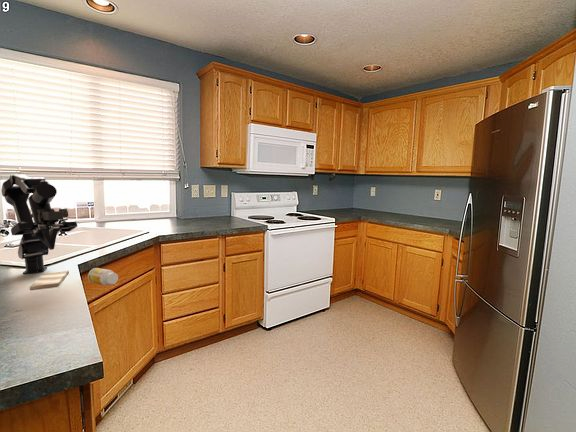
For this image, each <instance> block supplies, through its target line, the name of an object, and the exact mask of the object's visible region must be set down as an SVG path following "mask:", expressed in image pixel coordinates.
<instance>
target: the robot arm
mask: <svg viewBox="0 0 576 432" xmlns="http://www.w3.org/2000/svg"><path fill="white" fill-rule="evenodd" d="M57 192H58V191H57V188H56V187H55V186H54V185H53V184H51V183H50V182H49V181H48V180H46V177H31V176H28V175H27V174H24V173H21V174H19V173H15V174H14V173H13V174H10V175H9V178H8V179H6V180H5V181H4V182H3V183H2V184H1V195H2V197H4V200H5V201H6V203H7V204H9V205H11V206H12V207H13V210H14V212H15V216H16V218H17V223H16V224H15V225H13V226H12V227H11V229H10V233H11V235H12V236H22V237H21V239H20V242H19V244H18V250H17V256H18V258H19V259H21V260H23V259H24V263H25V264H24V265H25V270H24V271H23V272H22V274H23V275H24V274H25V275H26V274H33V273H34V274H35V273H43V272H44V271H46V270H47V268H48V266H45V265H44V256H47V255H49V250H50V251H52V250H54V249H55V246H56V239H57V236H58V233H59V232H60V233H68V232H71V231H73V230H74V229H75V228H78V223H77V221H75V220H74V219H70V220H69V219H68V220H67V219H66V220H64V218H68V217H69V211H68V209H67V208H60V209H58V211H56V210H55V209H54V208H52V206H51V203H52V201H53V199H54V198H55V196H56V195H57ZM30 194H31V195H30ZM30 210H31V211H30ZM59 221H62V222H60V223H59Z"/></svg>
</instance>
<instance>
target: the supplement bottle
mask: <svg viewBox="0 0 576 432" xmlns="http://www.w3.org/2000/svg"><path fill="white" fill-rule="evenodd" d="M87 279H88V281H89V282H90V283H93V284H97V285H101V286H110V285H115V284H116V283H117V282H118V280H119V275H118V274H117V273H116V272H114V271H113V270H112V269H106V268H100V267H93V268H91V270H89V272H88V274H87Z"/></svg>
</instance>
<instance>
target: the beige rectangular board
mask: <svg viewBox="0 0 576 432" xmlns="http://www.w3.org/2000/svg"><path fill="white" fill-rule="evenodd" d="M69 273H70V271H69V270H64V271H63V270H60V271H52V272H44V273H42V274H41V275H40V276H39V277H38V278H37V279H36V280H34V282H33V283H31V285H30V286H29V290H37V289H45V288H52V287H59V286H60V285H61V284H62V282H63V281H64V280H65V279H66V277H67V276H68V275H69Z"/></svg>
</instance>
